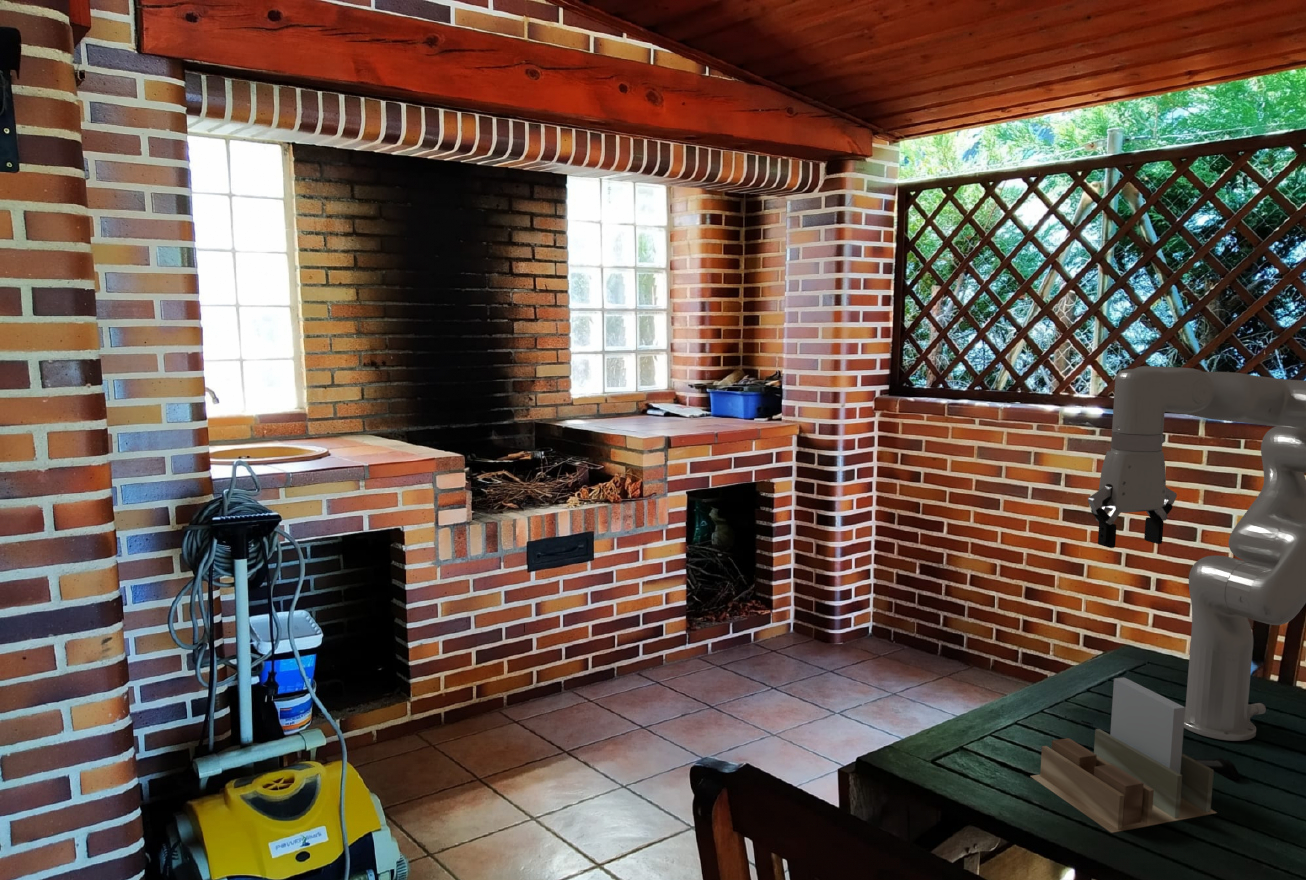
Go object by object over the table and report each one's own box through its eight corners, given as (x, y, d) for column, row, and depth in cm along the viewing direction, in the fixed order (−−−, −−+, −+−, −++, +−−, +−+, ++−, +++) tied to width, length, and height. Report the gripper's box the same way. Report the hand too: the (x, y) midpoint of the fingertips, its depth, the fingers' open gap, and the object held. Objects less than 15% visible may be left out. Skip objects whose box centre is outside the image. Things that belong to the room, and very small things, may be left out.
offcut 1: (1066, 773, 145) (1068, 738, 144) (1094, 792, 139) (1096, 755, 138) (1049, 776, 144) (1051, 740, 143) (1077, 795, 138) (1079, 757, 137)
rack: (1126, 768, 150) (1129, 722, 149) (1216, 822, 133) (1220, 771, 132) (1029, 784, 144) (1032, 737, 143) (1111, 842, 128) (1114, 789, 127)
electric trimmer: (1132, 770, 150) (1133, 752, 150) (1228, 771, 149) (1229, 753, 149) (1143, 782, 146) (1144, 763, 146) (1241, 783, 146) (1243, 764, 145)
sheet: (1118, 765, 147) (1124, 677, 146) (1177, 802, 136) (1185, 707, 134) (1108, 767, 147) (1114, 678, 145) (1167, 804, 135) (1174, 708, 134)
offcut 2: (1109, 801, 136) (1111, 764, 135) (1140, 822, 130) (1143, 783, 130) (1091, 804, 135) (1094, 766, 135) (1122, 825, 130) (1125, 786, 129)
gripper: (1159, 439, 156) (1153, 536, 158) (1077, 442, 151) (1071, 542, 153) (1196, 444, 149) (1189, 545, 151) (1111, 448, 144) (1104, 553, 146)
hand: (1129, 544), depth 152 cm, fingers open, 9 cm apart
